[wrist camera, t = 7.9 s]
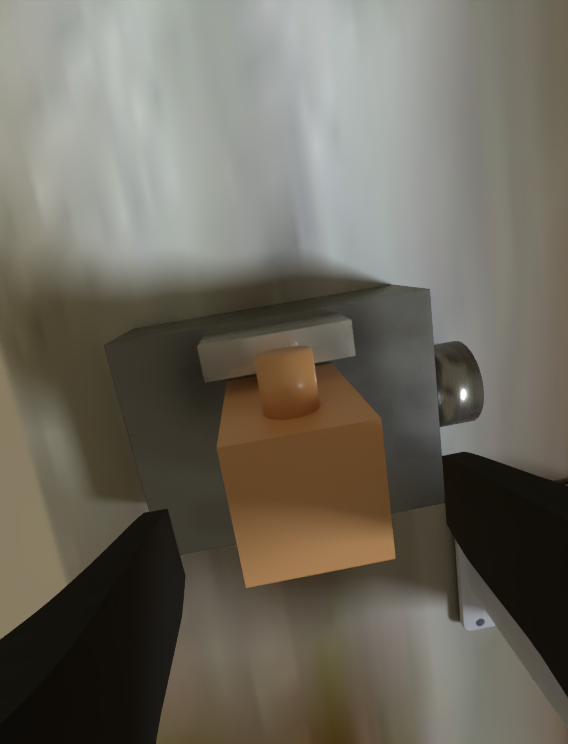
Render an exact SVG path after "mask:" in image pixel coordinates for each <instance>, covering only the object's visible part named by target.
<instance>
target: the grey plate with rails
mask: <svg viewBox="0 0 568 744" xmlns="http://www.w3.org/2000/svg"><path fill="white" fill-rule="evenodd" d="M289 346H308V347H311V348H312V350H313V357H314V365H315V366H319V365H325V364H331V363H332V364H333V365H334V366H335V367H336V368H337V369H338V371H339V372H340V373H341V374H342V375H343V376H344V377H345V378H346V380H347V381H348V382H349V383H350V384H351V385H352V386H353V387H354V388H355V390H356V391H357V392H358V393H359V394H360V395H361V396H362V397H363V398H364V400H365V401H366V402H367V403H368V404H369V405H370V406H371V407H372V408H373V410H374V411H375V412H376V413H377V414H378V415H379V416H380V417H381V420H382V429H383V439H384V449H385V459H386V469H387V479H388V489H389V498H390V508H391V513H395V512H400V511H405V510H410V509H415V508H420V507H425V506H431V505H436V504H441V503H445V495H444V481H443V467H442V453H441V439H440V427H443V426H448V425H453V424H459V423H464V422H469V421H474V420H476V419H477V418H478V417H479V415H480V413H481V411H482V408H483V401H484V390H483V382H482V377H481V373H480V370H479V367H478V364H477V362H476V360H475V358H474V356H473V354H472V353H471V351H470V350H469V349H468V347H467V346H465V345H464V344H463V343H461V342H459V341H452V342H447V343H441V344H436V345H434V341H433V327H432V313H431V299H430V289H425V288H416V287H408V286H400V285H388V286H382V287H377V288H371V289H365V290H359V291H353V292H347V293H341V294H336V295H330V296H324V297H318V298H312V299H306V300H301V301H295V302H289V303H283V304H277V305H271V306H266V307H260V308H254V309H248V310H242V311H236V312H230V313H225V314H219V315H213V316H207V317H201V318H195V319H190V320H184V321H178V322H172V323H166V324H160V325H155V326H149V327H143V328H137V329H132V330H130V331H129V332H127V333H125V334H123V335H122V336H120V337H118V338H116V339H114V340H113V341H111V342H109V343H107V344H105V345H104V348H105V351H106V355H107V358H108V362H109V366H110V369H111V373H112V377H113V380H114V384H115V388H116V391H117V395H118V399H119V402H120V406H121V409H122V413H123V417H124V420H125V424H126V428H127V431H128V435H129V439H130V442H131V446H132V449H133V453H134V457H135V460H136V464H137V468H138V471H139V475H140V479H141V482H142V486H143V490H144V493H145V497H146V500H147V504H148V508H149V511H150V512H152V511H157V510H162V509H167V508H168V512H169V515H170V519H171V523H172V527H173V531H174V535H175V538H176V542H177V546H178V550H179V554H180V555H182V554H187V553H192V552H197V551H202V550H207V549H212V548H217V547H222V546H228V545H233V544H237V543H236V538H235V534H234V529H233V524H232V519H231V515H230V510H229V505H228V500H227V496H226V491H225V486H224V482H223V477H222V472H221V467H220V463H219V458H218V453H217V448H216V447H217V441H218V435H219V429H220V422H221V416H222V410H223V403H224V397H225V391H226V384H227V381H232V380H238V379H243V378H249V377H255V376H257V375H256V369H255V363H254V356H256V355H257V354H259V353H262V352H265V351H268V350H272V349H276V348H282V347H289Z"/></svg>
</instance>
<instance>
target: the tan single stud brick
mask: <svg viewBox="0 0 568 744" xmlns="http://www.w3.org/2000/svg"><path fill="white" fill-rule="evenodd" d="M254 363H255V369H256V375H257V376H255V377H249V378H243V379H238V380H232V381H227V384H226V391H225V397H224V403H223V410H222V416H221V422H220V429H219V435H218V441H217V447H216V448H217V453H218V458H219V463H220V467H221V472H222V477H223V482H224V486H225V491H226V496H227V500H228V505H229V510H230V515H231V519H232V524H233V529H234V534H235V538H236V543H237V548H238V552H239V557H240V562H241V567H242V571H243V576H244V581H245V585H246V588H249V587H254V586H260V585H265V584H270V583H275V582H280V581H285V580H290V579H295V578H300V577H305V576H310V575H316V574H321V573H326V572H331V571H336V570H341V569H346V568H351V567H356V566H361V565H366V564H372V563H377V562H382V561H387V560H392V559H396V557H395V548H394V538H393V528H392V518H391V508H390V498H389V489H388V479H387V469H386V459H385V449H384V439H383V429H382V420H381V417H380V416H379V415H378V414H377V413H376V412H375V411H374V410H373V408H372V407H371V406H370V405H369V404H368V403H367V402H366V401H365V400H364V398H363V397H362V396H361V395H360V394H359V393H358V392H357V391H356V390H355V388H354V387H353V386H352V385H351V384H350V383H349V382H348V381H347V380H346V378H345V377H344V376H343V375H342V374H341V373H340V372H339V371H338V369H337V368H336V367H335V366H334V365H333V364H332V363H331V364H325V365H319V366H315V365H314V357H313V350H312V348H311V347H308V346H289V347H282V348H276V349H272V350H268V351H265V352H262V353H259V354H257V355H256V356H254Z"/></svg>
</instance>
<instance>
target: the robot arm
mask: <svg viewBox="0 0 568 744" xmlns="http://www.w3.org/2000/svg"><path fill="white" fill-rule="evenodd" d="M442 464H443V478H444V492H445V505H446V519H447V525H448V527H449V529H450V531H451V532H452V534H453V536H454V538H455V549H456V564H457V579H458V594H459V610H460V622H461V624H462V626H463V628H464V629H465V630H468V631H473V630H478V629H482V628H487V627H492V626H497V628H498V629H499V631H500V632H501V634H502V635H503V636H504V638H505V639H506V641H507V642H508V644H509V645H510V646H511V648H512V649H513V651H514V652H515V654H516V655H517V656H518V658H519V659H520V661H521V662H522V664H523V665H524V667H525V668H526V669H527V671H528V672H529V674H530V675H531V677H532V678H533V679H534V681H535V682H536V684H537V685H538V687H539V688H540V689H541V691H542V692H543V694H544V695H545V697H546V698H547V699H548V701H549V702H550V704H551V705H552V707H553V708H554V709H555V711H556V712H557V714H558V715H559V717H560V718H561V719H562V721H563V722H564V724H565V725H566V727H567V728H568V484H566V485H564V484H560V483H557V482H554V481H551V480H548V479H545V478H542V477H539V476H536V475H533V474H530V473H528V472H525V471H522V470H519V469H516V468H513V467H511V466H508V465H505V464H502V463H499V462H497V461H494V460H491V459H488V458H485V457H482V456H479V455H475V454H472V453H468V452H460V453H455V454H450V455H445V456H442ZM184 587H185V573H184V569H183V565H182V561H181V558H180V554H179V550H178V546H177V542H176V538H175V535H174V531H173V527H172V523H171V519H170V515H169V512H168V508H167V509H162V510H157V511H152V512H146V513H143V514H142V515H141V516H140V517H138V518H137V519H136V520H135V521H134V522H133V523H132V524H131V525H130V526H129V527H128V528H127V529H126V530H125V531H124V532H123V533H122V534H121V535H120V536H119V537H118V538H117V539H116V540H115V541H114V542H113V543H112V544H111V545H110V546H109V547H108V548H107V549H106V550H105V551H104V552H103V553H102V554H101V555H100V556H98V557H97V558H96V559H95V560H94V561H93V562H92V563H91V564H90V565H89V566H88V567H87V568H86V569H85V570H84V571H83V572H81V573H80V574H79V575H78V576H77V577H76V578H75V579H74V580H73V581H72V582H70V583H69V584H68V585H67V586H66V587H65V588H64V589H63V590H62V591H61V592H60V593H58V594H57V595H56V596H55V597H54V598H53V599H51V600H50V601H49V602H48V603H47V604H45V605H44V606H43V607H42V608H40V609H39V610H38V611H37V612H36V613H34V614H33V615H32V616H31V617H29V618H28V619H27V620H25V621H24V622H23V623H22V624H20V625H19V626H18V627H16V628H15V629H14V630H12V631H11V632H10V633H9V634H7V635H6V636H4V637H3V638H2V639H1V640H0V744H156V739H157V733H158V727H159V722H160V716H161V711H162V707H163V702H164V697H165V693H166V688H167V684H168V679H169V674H170V670H171V665H172V661H173V656H174V651H175V647H176V642H177V637H178V632H179V628H180V623H181V618H182V610H183V600H184ZM478 619H479V620H478Z"/></svg>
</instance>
